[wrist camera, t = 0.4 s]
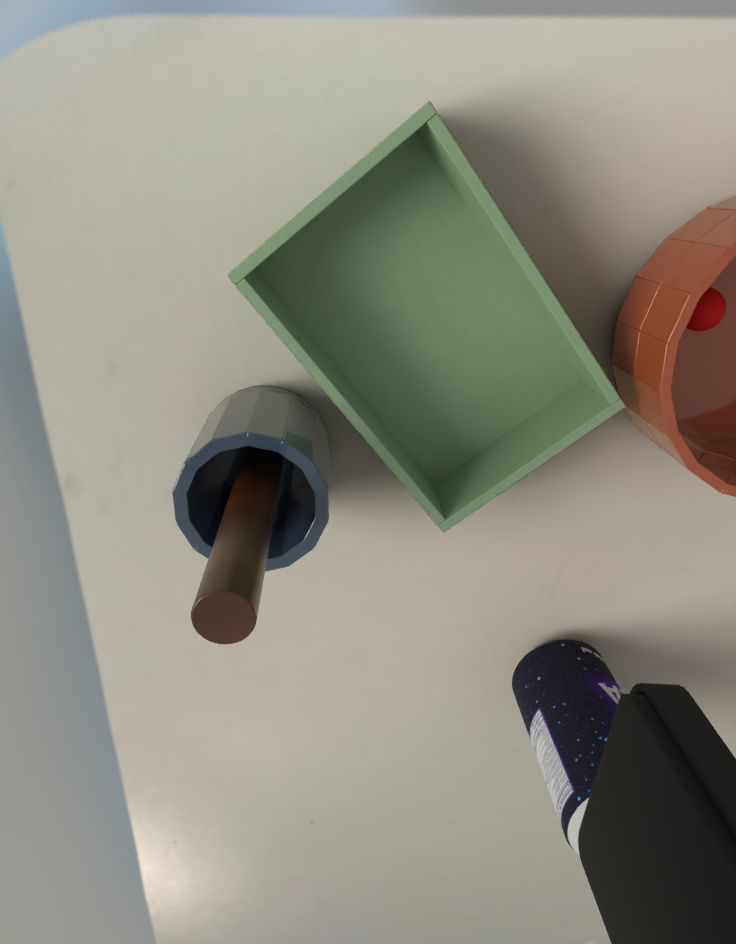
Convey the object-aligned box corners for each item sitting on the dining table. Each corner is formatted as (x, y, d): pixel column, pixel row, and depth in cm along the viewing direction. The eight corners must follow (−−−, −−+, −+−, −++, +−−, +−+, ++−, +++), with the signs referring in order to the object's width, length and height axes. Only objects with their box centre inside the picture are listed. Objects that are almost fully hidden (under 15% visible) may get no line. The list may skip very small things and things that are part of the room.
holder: (175, 437, 34) (139, 497, 27) (273, 358, 32) (259, 401, 26) (260, 524, 36) (244, 598, 29) (355, 453, 34) (360, 515, 28)
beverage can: (573, 713, 42) (658, 899, 31) (493, 690, 41) (552, 875, 30) (616, 644, 40) (724, 817, 29) (533, 619, 39) (612, 789, 28)
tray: (240, 263, 30) (226, 275, 26) (415, 113, 28) (430, 100, 24) (430, 492, 36) (443, 533, 31) (590, 379, 33) (626, 406, 29)
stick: (237, 449, 33) (176, 615, 20) (267, 425, 33) (225, 579, 20) (263, 477, 34) (221, 655, 21) (293, 454, 33) (269, 622, 21)
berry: (662, 302, 31) (682, 309, 29) (700, 274, 31) (723, 280, 29) (681, 335, 32) (702, 344, 30) (718, 309, 32) (742, 316, 30)
